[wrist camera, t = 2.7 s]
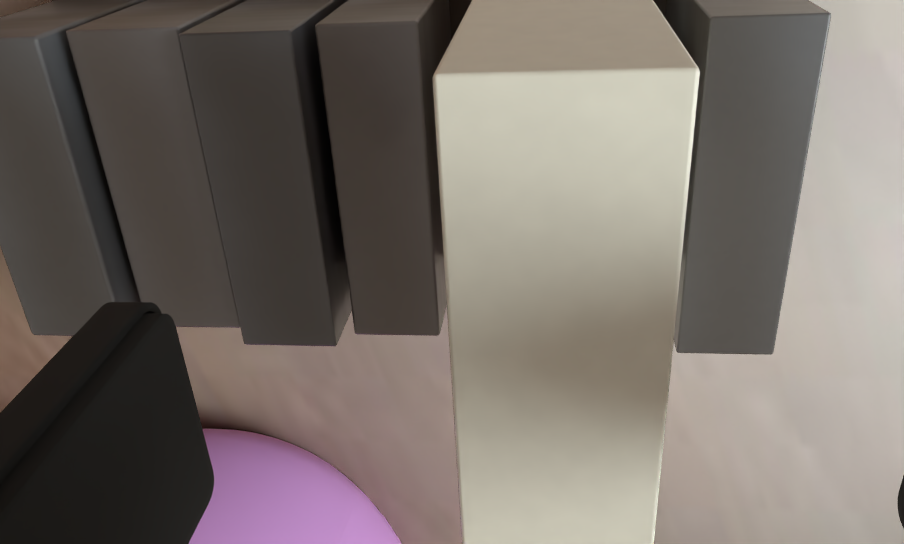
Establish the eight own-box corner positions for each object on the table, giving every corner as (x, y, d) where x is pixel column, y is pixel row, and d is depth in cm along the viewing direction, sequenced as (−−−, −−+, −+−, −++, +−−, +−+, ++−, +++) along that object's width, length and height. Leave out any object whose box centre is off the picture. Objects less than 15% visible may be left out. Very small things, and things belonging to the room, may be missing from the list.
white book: (621, -49, 18) (701, 66, 9) (607, 256, 22) (651, 575, 12) (493, -43, 19) (431, 73, 9) (500, 256, 22) (463, 564, 13)
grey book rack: (767, -60, 19) (863, -20, 13) (728, 241, 22) (789, 375, 17) (64, -30, 21) (-118, 16, 15) (137, 240, 25) (13, 357, 19)
